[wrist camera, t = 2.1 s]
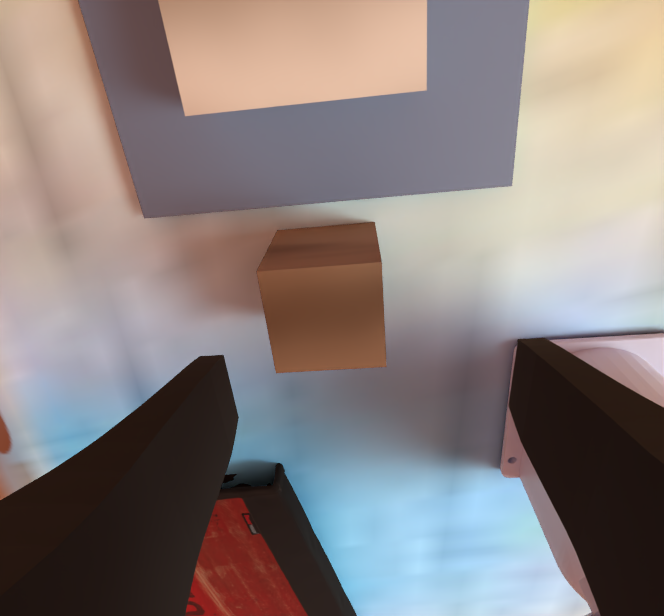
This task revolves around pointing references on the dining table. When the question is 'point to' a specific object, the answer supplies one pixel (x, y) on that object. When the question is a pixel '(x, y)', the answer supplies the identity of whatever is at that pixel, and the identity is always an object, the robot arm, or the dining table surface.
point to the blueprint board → (319, 132)
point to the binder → (263, 558)
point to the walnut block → (324, 298)
